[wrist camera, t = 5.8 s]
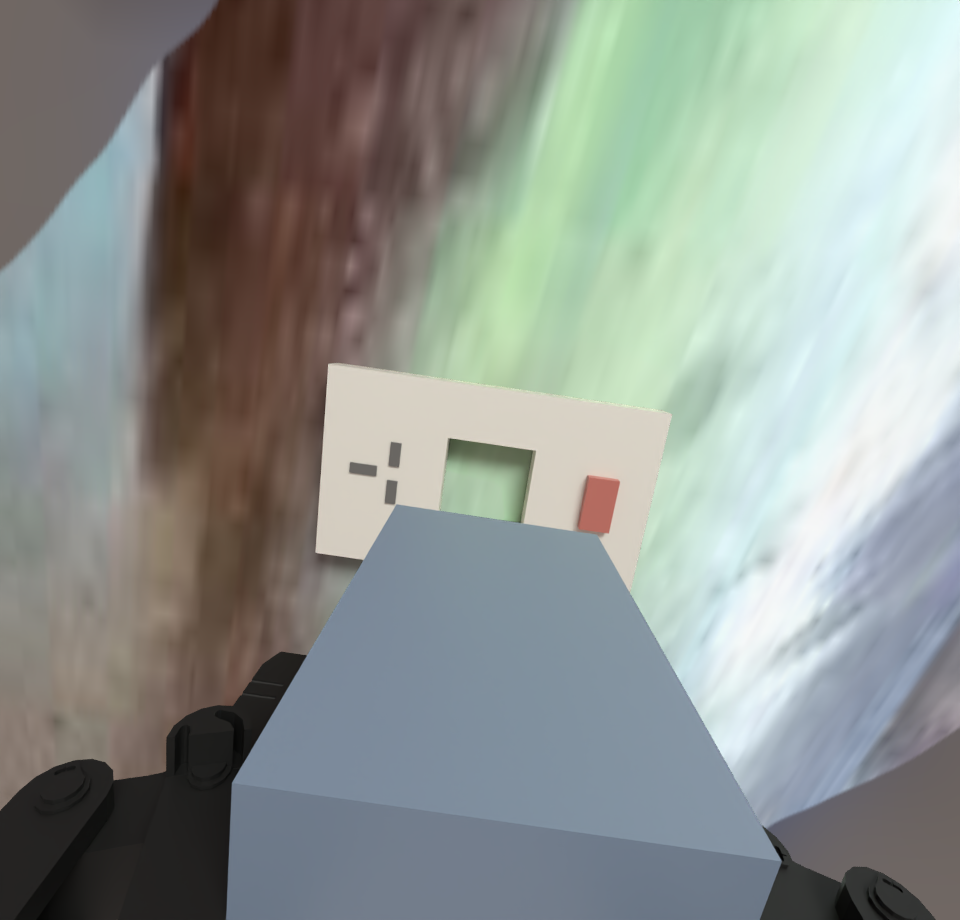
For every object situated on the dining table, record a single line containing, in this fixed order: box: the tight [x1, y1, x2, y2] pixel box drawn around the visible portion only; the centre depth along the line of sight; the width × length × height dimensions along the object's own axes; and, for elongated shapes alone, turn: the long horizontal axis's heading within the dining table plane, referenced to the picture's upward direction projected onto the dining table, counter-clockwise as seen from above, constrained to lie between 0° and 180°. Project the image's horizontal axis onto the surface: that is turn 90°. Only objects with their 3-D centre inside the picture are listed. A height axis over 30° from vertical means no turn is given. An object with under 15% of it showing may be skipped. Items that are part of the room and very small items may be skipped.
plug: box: [226, 504, 782, 920], centre depth 12 cm, size 6×6×12 cm
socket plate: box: [316, 363, 672, 592], centre depth 33 cm, size 22×13×3 cm, turn 82°
